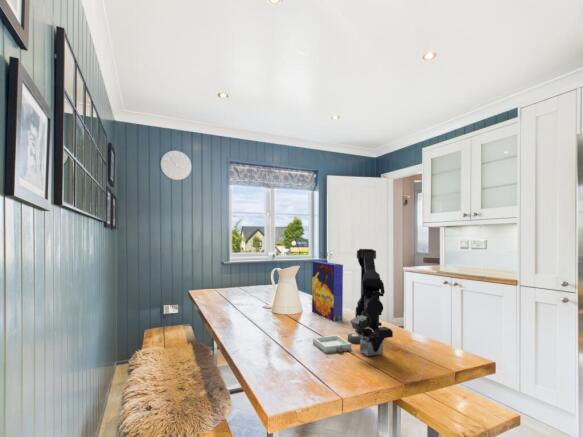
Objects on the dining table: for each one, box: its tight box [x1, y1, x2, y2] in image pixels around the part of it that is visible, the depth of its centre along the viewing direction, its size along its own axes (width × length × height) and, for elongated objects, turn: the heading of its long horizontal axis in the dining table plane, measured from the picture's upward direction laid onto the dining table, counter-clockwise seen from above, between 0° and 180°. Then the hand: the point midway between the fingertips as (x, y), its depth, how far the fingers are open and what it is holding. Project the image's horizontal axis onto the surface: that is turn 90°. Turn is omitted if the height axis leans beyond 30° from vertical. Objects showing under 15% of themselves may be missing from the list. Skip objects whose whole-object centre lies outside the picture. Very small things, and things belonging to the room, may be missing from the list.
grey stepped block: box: [359, 335, 384, 357], centre depth 126 cm, size 7×5×6 cm
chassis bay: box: [312, 334, 352, 354], centre depth 133 cm, size 12×15×2 cm
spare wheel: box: [347, 333, 363, 345], centre depth 141 cm, size 6×6×3 cm
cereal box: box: [311, 260, 344, 322], centre depth 184 cm, size 22×6×30 cm, turn 28°
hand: (371, 349), depth 126 cm, fingers closed on grey stepped block, 5 cm apart
